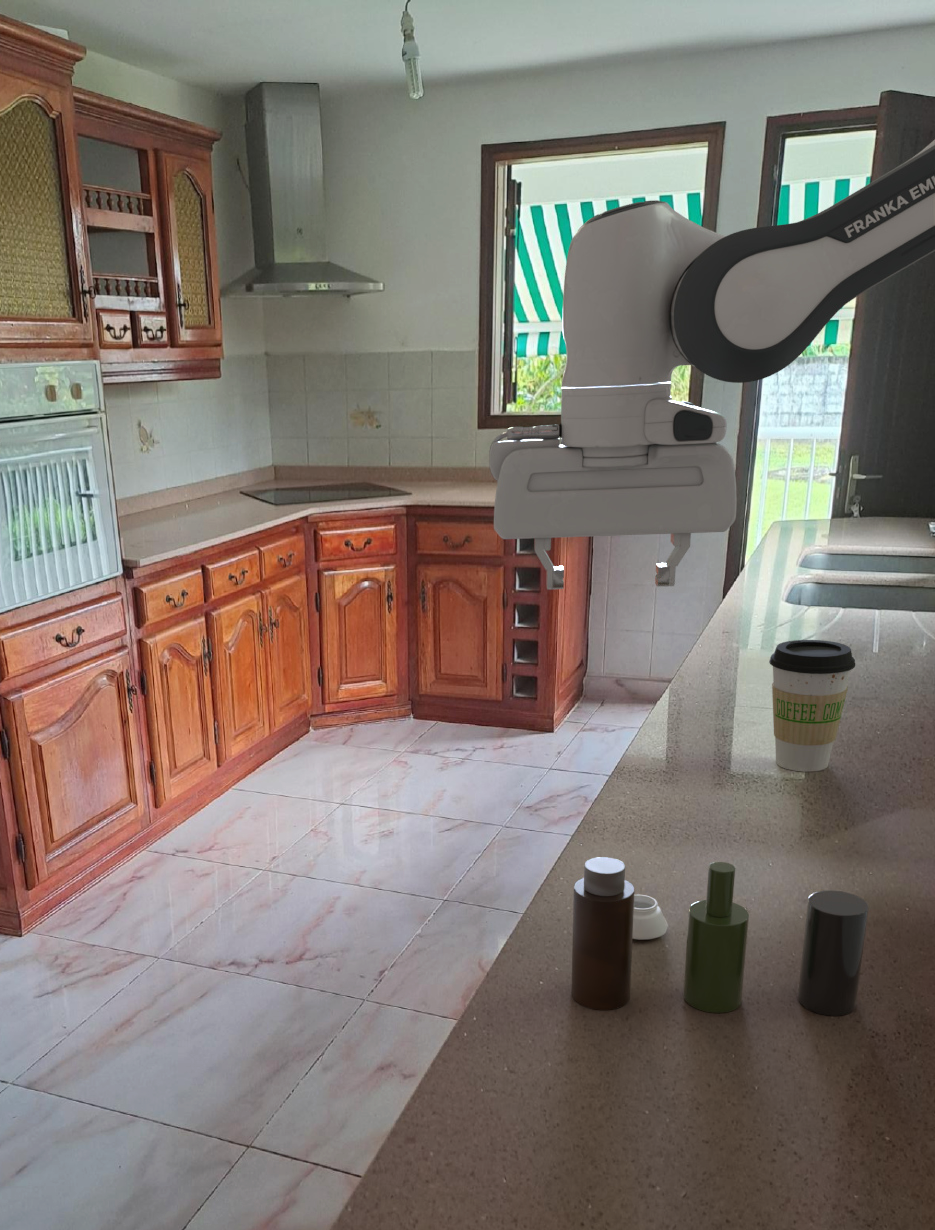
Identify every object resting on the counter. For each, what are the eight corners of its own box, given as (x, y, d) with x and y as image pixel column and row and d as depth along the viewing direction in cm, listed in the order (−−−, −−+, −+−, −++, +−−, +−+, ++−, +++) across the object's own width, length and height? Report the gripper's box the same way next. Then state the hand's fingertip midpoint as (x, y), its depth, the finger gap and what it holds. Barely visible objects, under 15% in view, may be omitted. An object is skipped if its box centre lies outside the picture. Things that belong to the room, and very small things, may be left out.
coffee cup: (790, 781, 137) (802, 661, 131) (745, 756, 146) (754, 643, 140) (861, 770, 139) (875, 652, 133) (812, 746, 148) (823, 635, 142)
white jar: (661, 946, 101) (670, 922, 105) (663, 917, 100) (672, 894, 104) (606, 938, 103) (617, 914, 107) (607, 909, 102) (618, 886, 106)
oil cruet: (735, 984, 95) (746, 855, 90) (746, 1014, 90) (758, 879, 86) (679, 982, 95) (687, 854, 91) (687, 1012, 91) (696, 879, 87)
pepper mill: (614, 976, 97) (619, 849, 92) (639, 1004, 92) (646, 873, 88) (562, 984, 96) (565, 857, 92) (585, 1014, 92) (589, 881, 87)
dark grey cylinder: (847, 987, 93) (859, 890, 90) (862, 1016, 89) (875, 916, 86) (792, 986, 94) (802, 889, 91) (804, 1015, 90) (815, 915, 86)
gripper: (488, 430, 92) (489, 597, 97) (747, 418, 89) (734, 590, 94) (489, 425, 98) (490, 583, 103) (732, 414, 95) (721, 576, 100)
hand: (609, 586), depth 98 cm, fingers open, 8 cm apart
